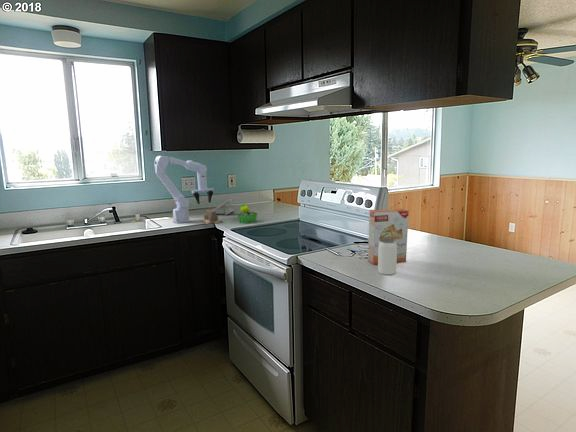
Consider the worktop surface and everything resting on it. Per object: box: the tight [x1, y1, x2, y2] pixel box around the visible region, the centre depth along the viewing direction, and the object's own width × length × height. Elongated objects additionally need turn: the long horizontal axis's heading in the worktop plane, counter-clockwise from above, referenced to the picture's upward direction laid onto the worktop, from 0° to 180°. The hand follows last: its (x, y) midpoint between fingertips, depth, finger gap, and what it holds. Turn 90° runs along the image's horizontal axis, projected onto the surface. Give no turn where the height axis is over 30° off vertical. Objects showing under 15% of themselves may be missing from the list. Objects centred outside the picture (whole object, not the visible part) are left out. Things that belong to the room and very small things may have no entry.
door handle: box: [211, 198, 235, 216], centre depth 271 cm, size 18×8×20 cm
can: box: [377, 239, 397, 276], centre depth 138 cm, size 6×6×12 cm
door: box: [205, 209, 217, 221], centre depth 241 cm, size 2×10×6 cm, turn 33°
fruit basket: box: [237, 203, 258, 224], centre depth 238 cm, size 11×9×11 cm
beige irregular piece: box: [199, 214, 223, 225], centre depth 242 cm, size 10×12×4 cm
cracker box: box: [367, 208, 409, 265], centre depth 150 cm, size 14×6×21 cm, turn 100°
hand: (204, 203), depth 250 cm, fingers open, 7 cm apart
